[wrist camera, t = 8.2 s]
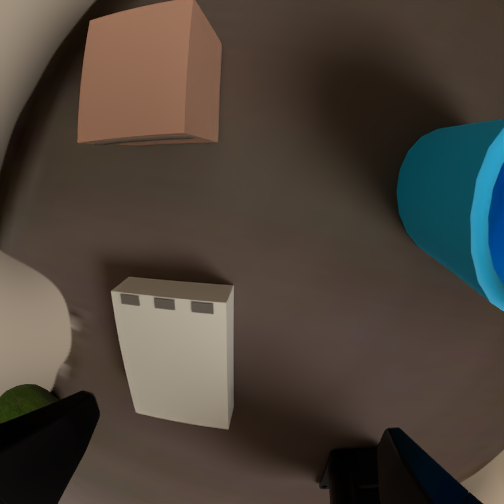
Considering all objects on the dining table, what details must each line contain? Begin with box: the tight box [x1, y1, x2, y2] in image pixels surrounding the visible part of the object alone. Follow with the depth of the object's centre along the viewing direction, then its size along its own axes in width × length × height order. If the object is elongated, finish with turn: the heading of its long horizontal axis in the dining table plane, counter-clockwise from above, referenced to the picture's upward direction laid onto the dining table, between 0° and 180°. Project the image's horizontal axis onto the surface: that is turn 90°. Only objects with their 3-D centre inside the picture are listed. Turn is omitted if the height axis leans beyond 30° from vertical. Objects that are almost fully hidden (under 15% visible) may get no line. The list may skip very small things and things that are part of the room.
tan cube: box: [77, 0, 222, 146], centre depth 13 cm, size 6×5×6 cm
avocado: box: [0, 384, 59, 424], centre depth 19 cm, size 8×8×12 cm
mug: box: [396, 119, 504, 311], centre depth 12 cm, size 12×8×8 cm
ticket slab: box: [111, 277, 234, 429], centre depth 19 cm, size 10×7×3 cm
